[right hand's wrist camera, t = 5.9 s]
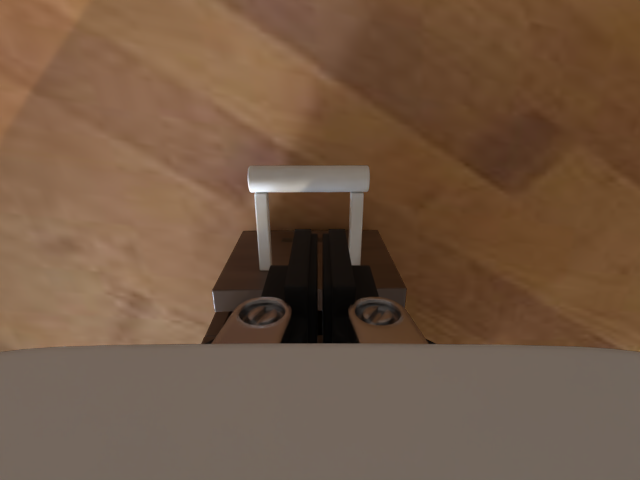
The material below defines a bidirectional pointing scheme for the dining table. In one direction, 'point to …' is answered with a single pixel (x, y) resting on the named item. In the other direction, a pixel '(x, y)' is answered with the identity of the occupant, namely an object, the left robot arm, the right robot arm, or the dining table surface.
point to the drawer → (275, 246)
